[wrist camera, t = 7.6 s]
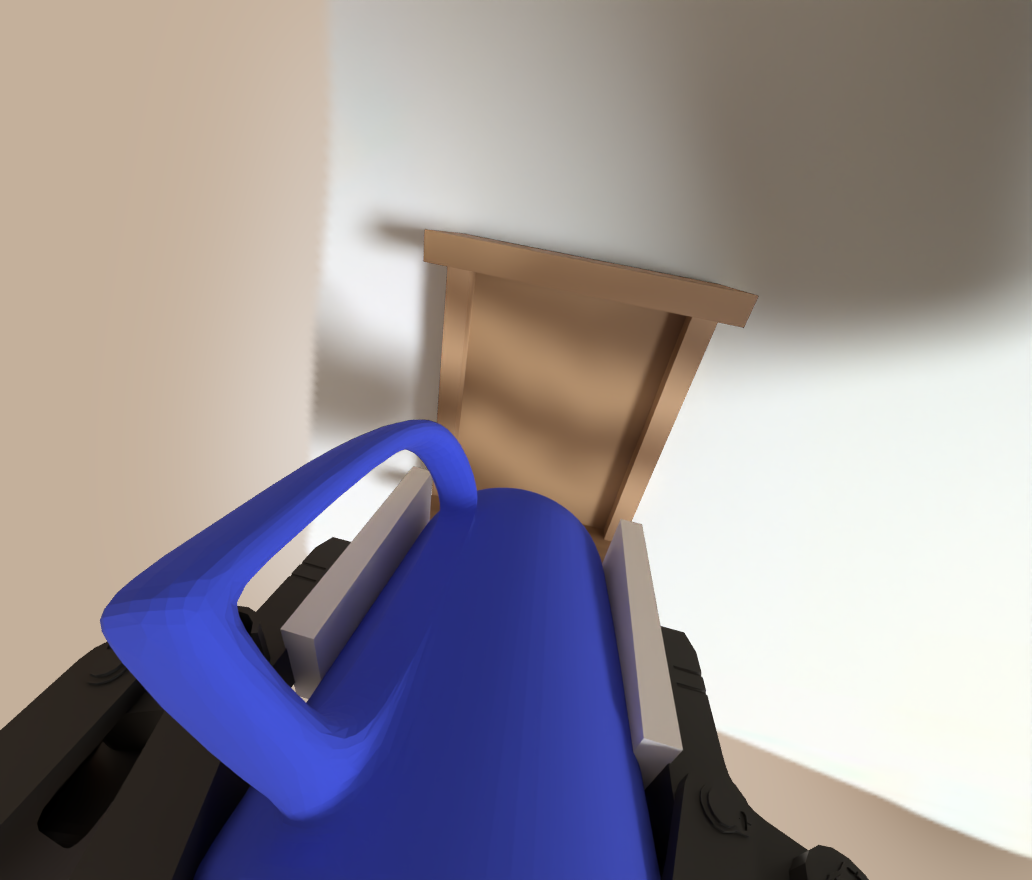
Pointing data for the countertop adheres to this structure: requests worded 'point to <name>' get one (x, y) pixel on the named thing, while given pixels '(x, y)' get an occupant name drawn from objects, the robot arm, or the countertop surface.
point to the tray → (568, 369)
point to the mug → (407, 691)
